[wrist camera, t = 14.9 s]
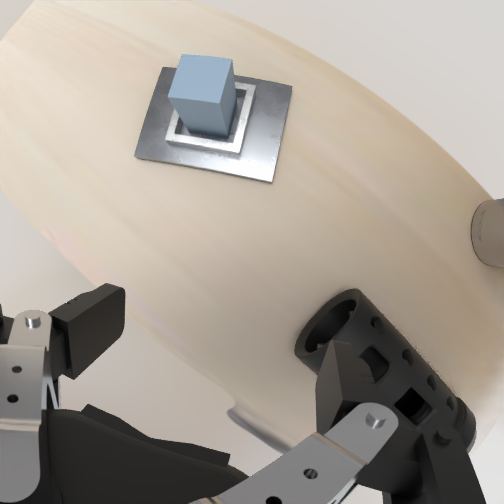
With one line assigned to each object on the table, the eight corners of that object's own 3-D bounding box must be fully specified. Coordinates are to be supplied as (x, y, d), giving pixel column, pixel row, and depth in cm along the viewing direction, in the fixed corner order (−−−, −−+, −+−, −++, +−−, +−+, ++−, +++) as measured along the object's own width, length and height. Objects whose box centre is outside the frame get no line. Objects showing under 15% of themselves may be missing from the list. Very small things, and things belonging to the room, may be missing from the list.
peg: (237, 103, 34) (232, 59, 24) (228, 139, 34) (219, 103, 24) (199, 98, 33) (182, 54, 23) (189, 133, 34) (167, 97, 24)
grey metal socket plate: (291, 90, 35) (294, 78, 31) (271, 183, 35) (272, 178, 32) (165, 71, 34) (158, 59, 31) (137, 158, 35) (127, 152, 32)
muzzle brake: (343, 279, 36) (377, 294, 25) (456, 401, 37) (493, 431, 26) (286, 338, 36) (298, 374, 26) (412, 446, 37) (441, 484, 26)
